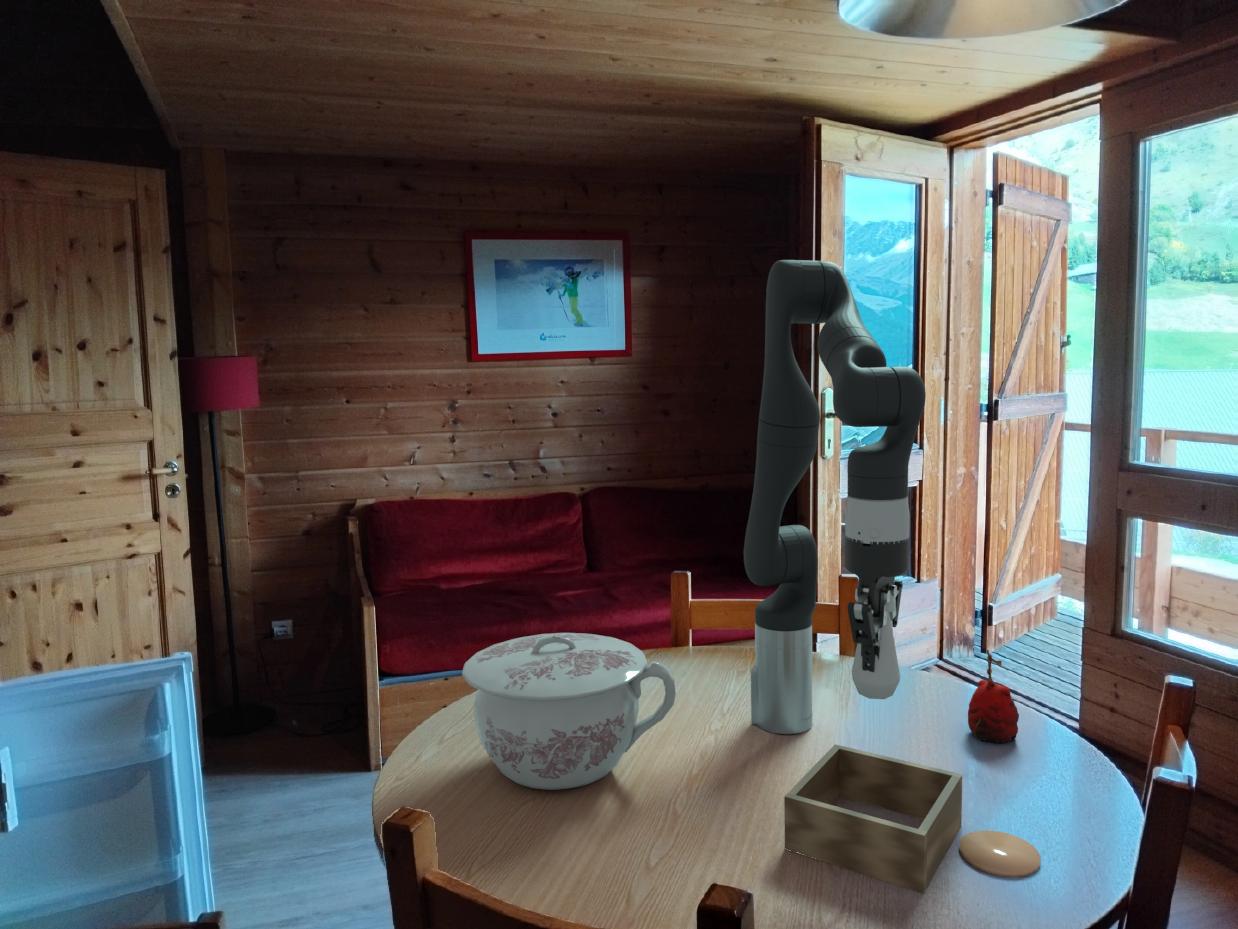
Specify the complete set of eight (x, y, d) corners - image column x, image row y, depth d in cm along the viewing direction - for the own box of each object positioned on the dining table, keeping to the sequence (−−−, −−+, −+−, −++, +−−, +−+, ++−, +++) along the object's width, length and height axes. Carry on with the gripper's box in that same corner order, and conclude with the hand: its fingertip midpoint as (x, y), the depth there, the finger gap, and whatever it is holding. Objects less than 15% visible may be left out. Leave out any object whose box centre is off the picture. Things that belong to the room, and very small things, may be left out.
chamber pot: (430, 774, 132) (422, 641, 130) (562, 715, 152) (558, 599, 150) (557, 839, 113) (551, 685, 111) (690, 763, 133) (687, 631, 131)
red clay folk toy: (1025, 737, 139) (1028, 645, 137) (1004, 751, 134) (1007, 656, 132) (979, 723, 144) (981, 634, 142) (957, 736, 140) (959, 645, 138)
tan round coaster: (951, 862, 106) (951, 857, 106) (969, 828, 113) (969, 823, 113) (1032, 885, 101) (1032, 880, 101) (1046, 848, 108) (1046, 843, 108)
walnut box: (784, 849, 109) (784, 796, 109) (834, 791, 123) (834, 744, 122) (923, 893, 100) (924, 835, 99) (961, 825, 114) (962, 774, 113)
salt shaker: (902, 703, 106) (903, 599, 104) (853, 701, 107) (853, 597, 105) (896, 685, 112) (898, 585, 110) (850, 683, 113) (850, 584, 111)
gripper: (866, 519, 114) (864, 647, 117) (825, 540, 103) (825, 682, 105) (924, 525, 110) (922, 657, 112) (889, 547, 99) (887, 694, 101)
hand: (875, 668), depth 109 cm, fingers closed on salt shaker, 3 cm apart
